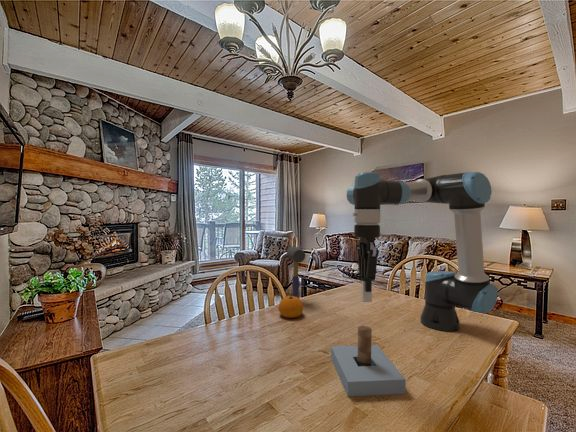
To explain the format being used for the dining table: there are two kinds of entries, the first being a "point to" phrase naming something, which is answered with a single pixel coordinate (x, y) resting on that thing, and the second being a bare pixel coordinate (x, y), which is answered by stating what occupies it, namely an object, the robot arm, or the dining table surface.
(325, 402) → the dining table surface
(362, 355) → the peg
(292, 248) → the rubber mallet
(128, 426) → the dining table surface
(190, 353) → the dining table surface
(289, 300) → the fruit
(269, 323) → the dining table surface
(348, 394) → the seat board
